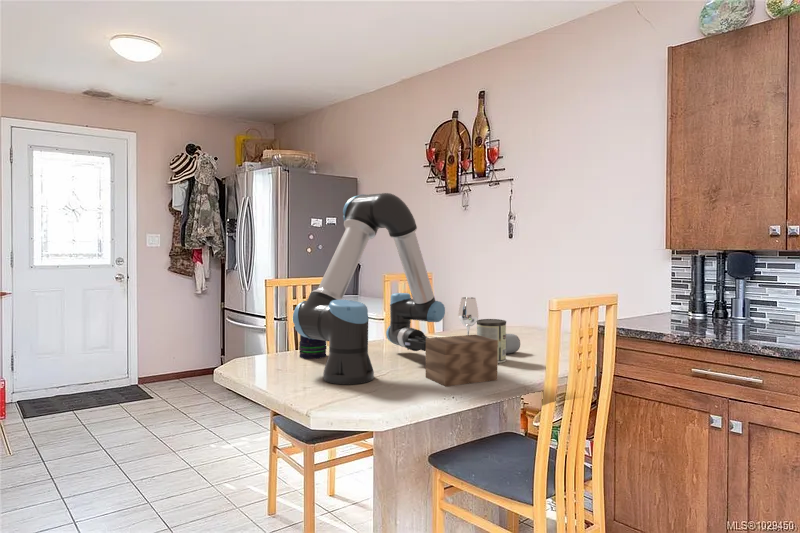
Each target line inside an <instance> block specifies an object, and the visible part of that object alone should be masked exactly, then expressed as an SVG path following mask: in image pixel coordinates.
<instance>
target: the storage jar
mask: <svg viewBox="0 0 800 533" xmlns="http://www.w3.org/2000/svg"><path fill="white" fill-rule="evenodd" d="M298 349H299V350H298V351H299V358H300V359H304V360H317V359H318V360H319V359H325V358H326V357H327V341H324V340H318V339H309V338H307V337H303V336H301V335H300V334H299V345H298Z"/></svg>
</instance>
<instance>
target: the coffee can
mask: <svg viewBox="0 0 800 533" xmlns="http://www.w3.org/2000/svg"><path fill="white" fill-rule="evenodd" d="M506 334H507V320H505V319H498V318H497V319H496V318H484V319H483V318H481V319H478V320H477V322H476V335H479V336H483V337H487V338H491V339H494V340H498V359H497V364H503V363H505V362H507V358H506V357H507V354H506Z"/></svg>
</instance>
